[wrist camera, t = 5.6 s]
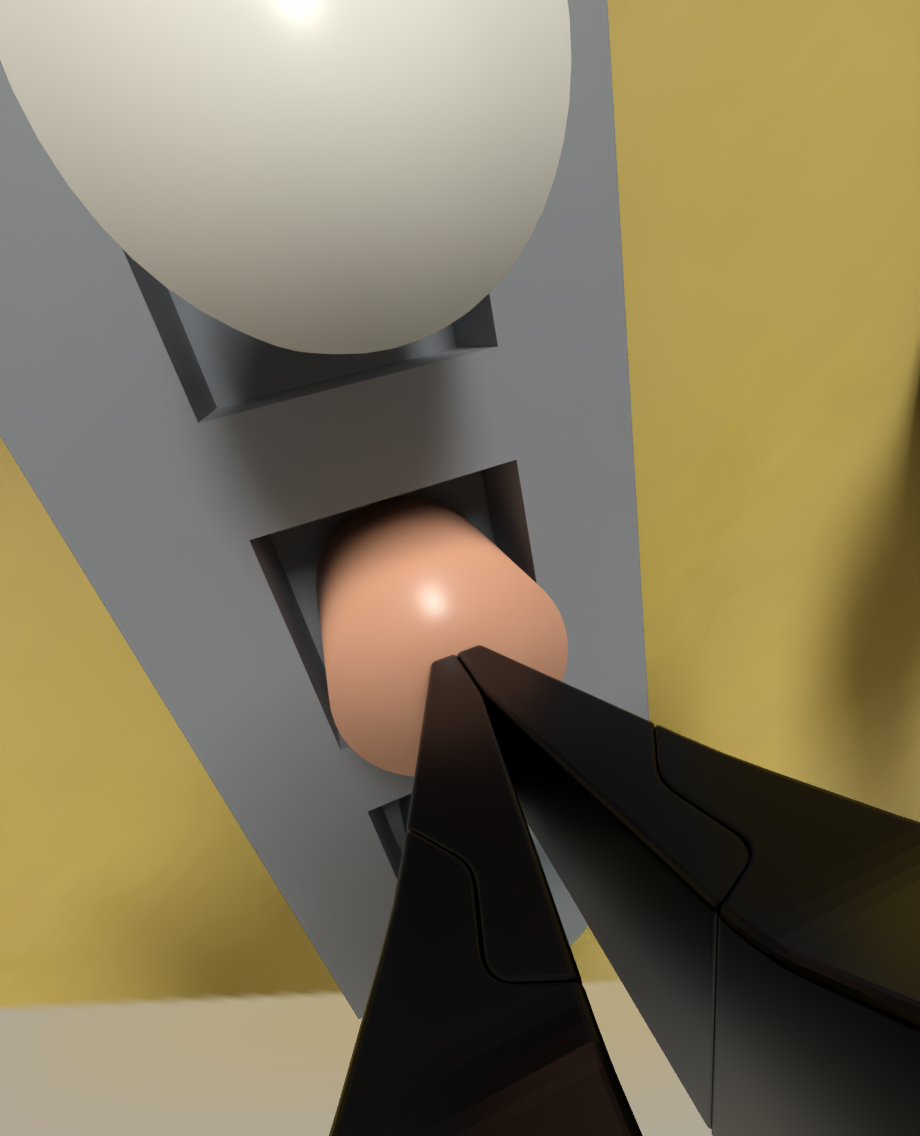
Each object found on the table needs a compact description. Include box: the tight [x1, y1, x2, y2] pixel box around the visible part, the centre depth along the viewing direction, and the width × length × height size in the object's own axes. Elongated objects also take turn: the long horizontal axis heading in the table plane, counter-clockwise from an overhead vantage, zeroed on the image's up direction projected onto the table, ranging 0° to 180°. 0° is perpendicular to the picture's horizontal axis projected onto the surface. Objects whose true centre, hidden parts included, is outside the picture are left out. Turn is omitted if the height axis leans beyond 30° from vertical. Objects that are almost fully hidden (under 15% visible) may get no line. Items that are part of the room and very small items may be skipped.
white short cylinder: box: [0, 0, 571, 354], centre depth 5 cm, size 4×4×4 cm
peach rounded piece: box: [316, 496, 568, 776], centre depth 10 cm, size 4×4×4 cm
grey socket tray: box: [0, 0, 649, 1019], centre depth 12 cm, size 10×24×3 cm, turn 12°
